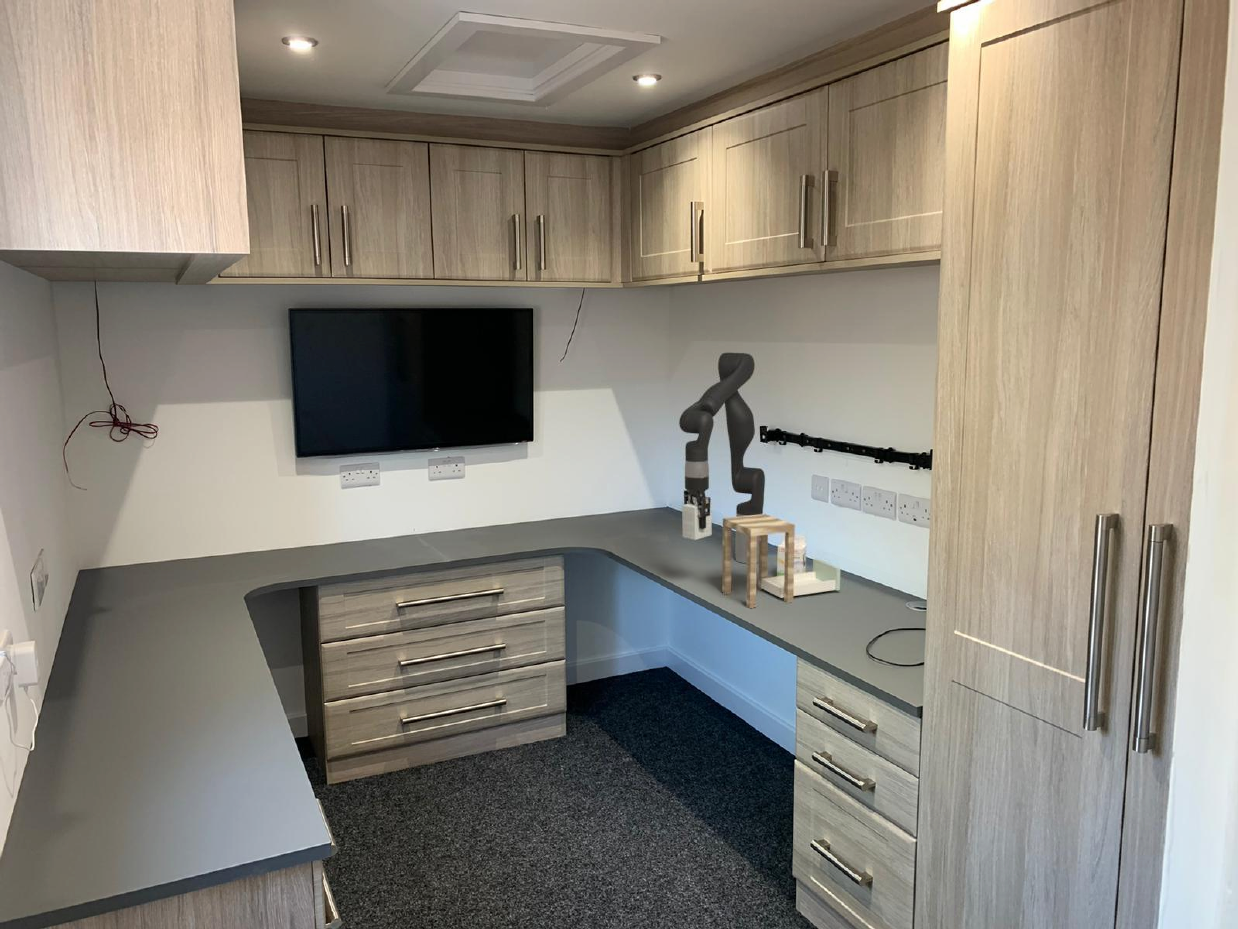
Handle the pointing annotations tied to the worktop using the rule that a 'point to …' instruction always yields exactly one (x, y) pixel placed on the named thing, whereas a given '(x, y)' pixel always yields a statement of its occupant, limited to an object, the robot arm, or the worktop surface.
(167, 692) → the worktop surface
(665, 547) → the worktop surface
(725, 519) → the wooden step stool
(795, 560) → the ink box
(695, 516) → the small box
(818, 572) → the drawer
